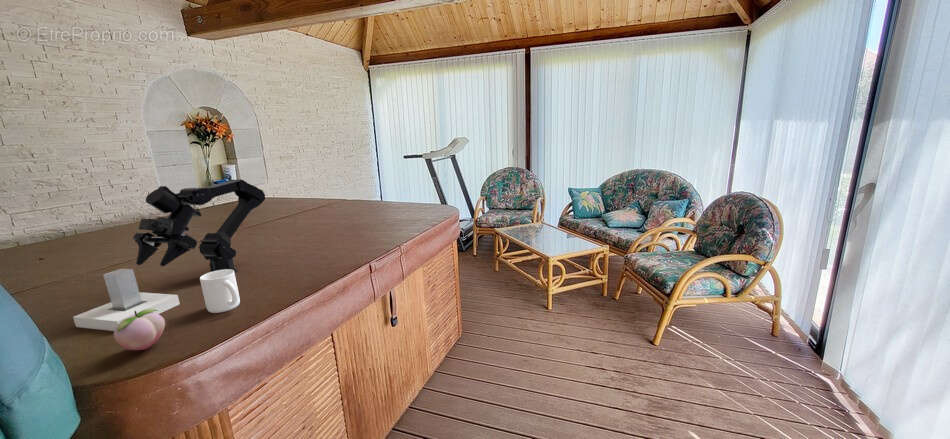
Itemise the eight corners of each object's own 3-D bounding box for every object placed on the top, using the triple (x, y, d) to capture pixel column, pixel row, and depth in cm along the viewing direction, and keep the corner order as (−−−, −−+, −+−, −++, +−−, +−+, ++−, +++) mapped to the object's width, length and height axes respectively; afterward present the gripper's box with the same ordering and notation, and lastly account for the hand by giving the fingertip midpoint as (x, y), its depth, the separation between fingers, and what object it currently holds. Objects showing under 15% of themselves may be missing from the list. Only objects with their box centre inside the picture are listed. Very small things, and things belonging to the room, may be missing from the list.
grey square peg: (132, 310, 109) (121, 268, 106) (144, 310, 108) (132, 269, 105) (115, 317, 105) (103, 274, 102) (127, 318, 104) (115, 275, 101)
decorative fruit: (142, 339, 92) (132, 303, 90) (176, 337, 93) (167, 301, 91) (108, 362, 83) (96, 322, 81) (146, 359, 84) (134, 319, 81)
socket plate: (139, 300, 116) (137, 292, 115) (179, 304, 112) (177, 295, 111) (76, 326, 101) (72, 316, 100) (120, 331, 97) (117, 321, 96)
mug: (253, 306, 108) (246, 273, 106) (223, 319, 102) (215, 284, 99) (231, 298, 114) (225, 267, 112) (201, 310, 108) (193, 277, 105)
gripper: (131, 207, 115) (99, 252, 107) (179, 207, 110) (149, 254, 102) (163, 225, 124) (135, 268, 116) (208, 226, 120) (182, 270, 112)
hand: (149, 265), depth 111 cm, fingers open, 9 cm apart
